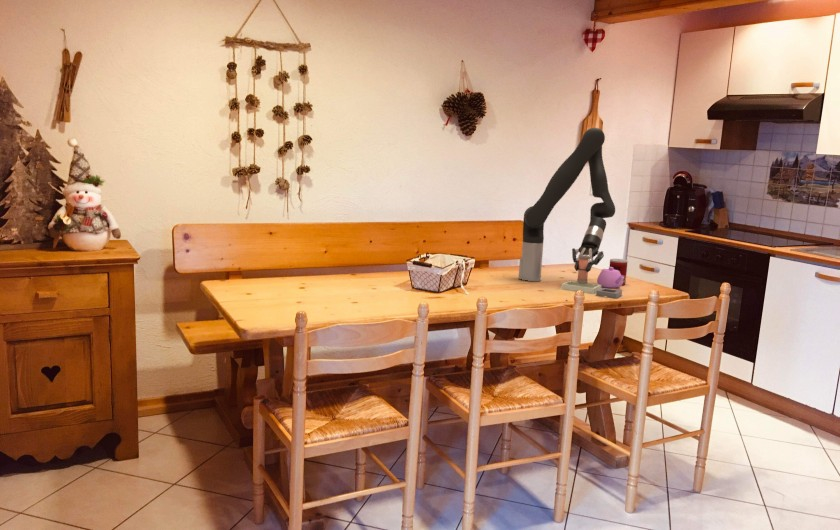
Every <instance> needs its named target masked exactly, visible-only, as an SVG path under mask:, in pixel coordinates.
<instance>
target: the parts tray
mask: <svg viewBox="0 0 840 530" xmlns="http://www.w3.org/2000/svg"><path fill="white" fill-rule="evenodd" d="M601 288H602V286H601V285H599V284H598V283H589V282H587V284H579V283H577V281H573V280H568V281H566V282H564V283H561V288H560V290H563V291H564V290H565V291H571V292H577V291H578V290H581V291H583V292H582V293H585V294H591V295H596V291H597V290H599V289H601Z"/></svg>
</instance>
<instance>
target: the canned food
mask: <svg viewBox="0 0 840 530" xmlns="http://www.w3.org/2000/svg"><path fill="white" fill-rule="evenodd" d="M609 267H613V268H614V270H618V271H620V273H621V275H623V276H624V278H623V284H622V286H625V285H626V282H627V273H628V260H627V259H622V258H610V259H609ZM609 267H608V268H609Z"/></svg>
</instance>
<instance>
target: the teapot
mask: <svg viewBox="0 0 840 530" xmlns="http://www.w3.org/2000/svg"><path fill="white" fill-rule="evenodd" d="M623 278H624V276H623V275H621V273H620V271H618V270H614V268H613V267H608V268H603V269H601V271H600V273H599V274H598V276H597V278H596V279H597V280H596V284H597V285H601V287H602V288H607V289H614V288H615V289H617V288H621V287H622V286H623V285H622V284H623Z"/></svg>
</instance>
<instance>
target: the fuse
mask: <svg viewBox="0 0 840 530" xmlns="http://www.w3.org/2000/svg"><path fill="white" fill-rule="evenodd" d="M578 256H579V267H578V271H577V281H576V282H577V283H579V284H587V283H588V277H589V272H586V267H587V264H588V262H589V255H587V254H580V253H578Z"/></svg>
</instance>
